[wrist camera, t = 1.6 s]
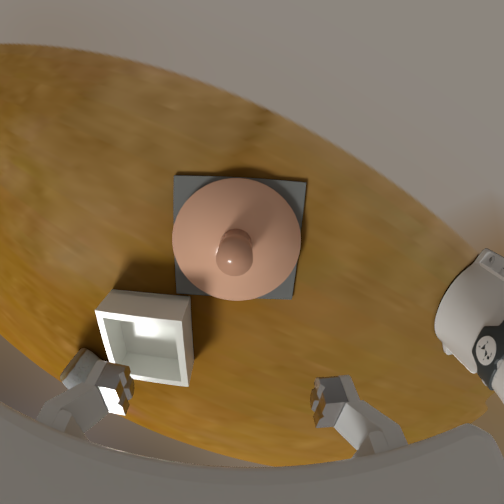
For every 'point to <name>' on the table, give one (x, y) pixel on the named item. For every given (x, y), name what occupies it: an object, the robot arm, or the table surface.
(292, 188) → the mat
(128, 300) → the dish
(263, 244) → the lid
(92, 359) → the ceramic mug
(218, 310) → the table surface
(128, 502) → the robot arm
